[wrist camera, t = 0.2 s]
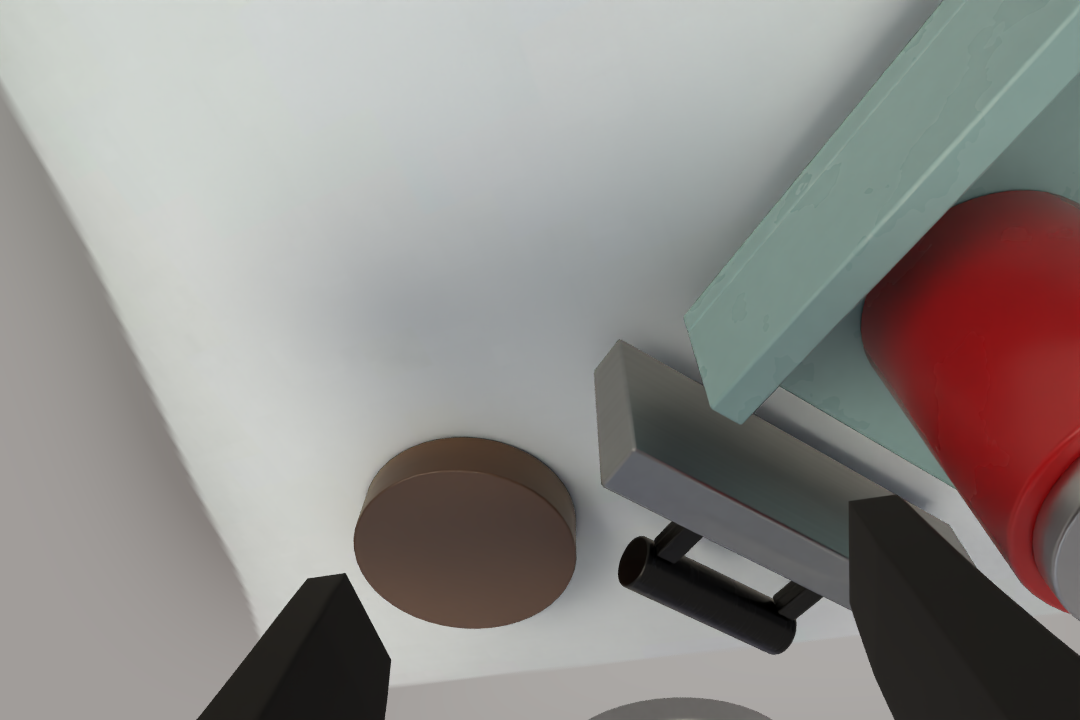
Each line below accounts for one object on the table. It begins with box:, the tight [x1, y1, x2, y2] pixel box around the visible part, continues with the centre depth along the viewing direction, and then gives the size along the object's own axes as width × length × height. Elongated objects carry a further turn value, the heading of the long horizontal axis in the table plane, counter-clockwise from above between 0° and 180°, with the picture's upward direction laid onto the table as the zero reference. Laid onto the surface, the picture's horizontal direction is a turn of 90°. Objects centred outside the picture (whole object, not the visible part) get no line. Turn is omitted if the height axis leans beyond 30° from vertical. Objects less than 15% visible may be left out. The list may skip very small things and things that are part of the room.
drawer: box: [594, 0, 1080, 655], centre depth 15 cm, size 22×12×4 cm, turn 149°
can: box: [861, 190, 1080, 621], centre depth 13 cm, size 5×5×7 cm
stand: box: [354, 437, 576, 629], centre depth 22 cm, size 7×7×2 cm
